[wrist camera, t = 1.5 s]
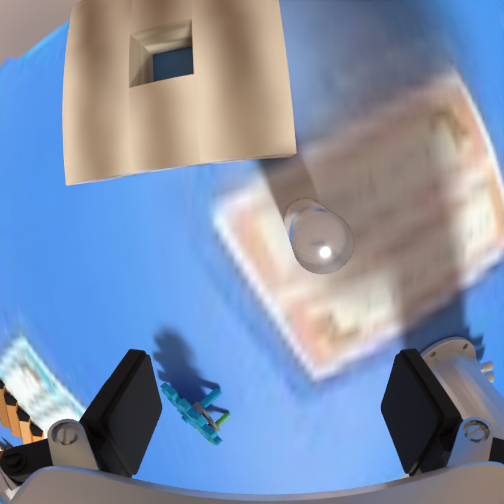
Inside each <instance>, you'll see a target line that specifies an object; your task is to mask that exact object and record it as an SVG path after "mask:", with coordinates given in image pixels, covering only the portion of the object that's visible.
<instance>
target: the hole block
mask: <svg viewBox="0 0 504 504" xmlns="http://www.w3.org/2000/svg"><path fill="white" fill-rule="evenodd" d="M188 47H193V65H194V74H191V75H185V76H180V77H175V78H170V79H165V80H160V81H156V82H153V55H155V54H160V53H164V52H168V51H173V50H178V49H183V48H188ZM63 150H64V166H65V178H66V186H67V185H74V184H82V183H90V182H99V181H104V180H109V179H114V178H120V177H125V176H131V175H136V174H142V173H148V172H155V171H161V170H168V169H175V168H182V167H190V166H198V165H206V164H215V163H225V162H235V161H246V160H258V159H273V158H289V157H292V156H293V155H295V154H296V153H297V152H296V140H295V129H294V118H293V108H292V98H291V89H290V80H289V71H288V63H287V55H286V48H285V40H284V33H283V26H282V19H281V12H280V6H279V0H82V1H80V2H78V3H75V4H74V5H73V8H72V13H71V19H70V25H69V32H68V39H67V47H66V56H65V67H64V82H63Z"/></svg>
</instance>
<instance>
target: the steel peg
mask: <svg viewBox="0 0 504 504" xmlns="http://www.w3.org/2000/svg"><path fill="white" fill-rule="evenodd" d="M284 223H285V227H286V230H287V233H288V236H289V239H290V243H291V246H292V249H293V252H294V255H295V257H296V259H297V261H298V262H299V264H300V265H301V266H302V267H303V268H305V269H306V270H308V271H310V272H312V273H316V274H328V273H332V272H334V271H336V270H338V269H340V268H341V267H342V266H343V265H345V263H346V262H347V261H348V260H349V258H350V256H351V254H352V251H353V246H354V238H353V234H352V231H351V229H350V227H349V225H348V224H347V223H346V222H345V221H344V220H343V219H342V218H340V217H339V216H337V215H336V214H334V213H332V212H331V211H329V210H328V209H326V208H325V207H323V206H321V205H320V204H318V203H317V202H315V201H313V200H310V199H300V200H297V201H295V202H293V203H292V204H291V205H290V206H289V207H288V208H287V210H286V212H285V216H284Z"/></svg>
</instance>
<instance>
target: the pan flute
mask: <svg viewBox="0 0 504 504" xmlns="http://www.w3.org/2000/svg"><path fill="white" fill-rule="evenodd" d="M0 421H1V424H2V427H7V428H10V429H11V432H12V435H13V436H18V437H21V439H22V441H23V444H28V443H32V442H36V441H39V440H43V439H44V434H43V431H42V430H41V429H39V428H38V427H37V426H35V425H33V426H31V419H30V416H29V415H28V414H26V413H25V412H24V411H23V410H20V411H19V410H18V402H17V400H16V399H15V398H13V397H12V396H11V395H10V394H7V395H6V389H5V384H4V383H3V382H2V381H1V380H0Z"/></svg>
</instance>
